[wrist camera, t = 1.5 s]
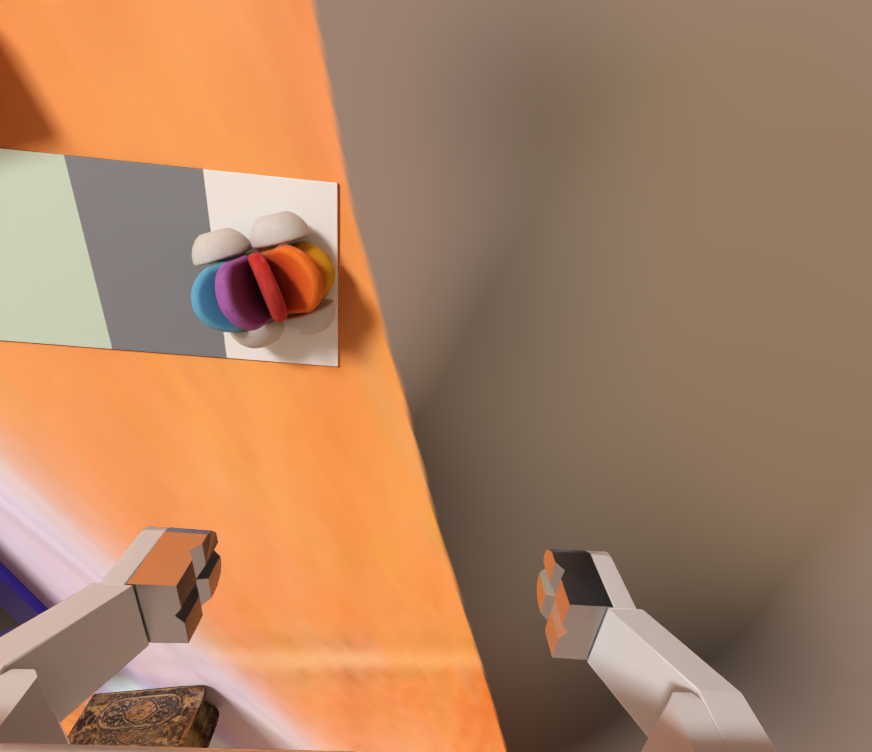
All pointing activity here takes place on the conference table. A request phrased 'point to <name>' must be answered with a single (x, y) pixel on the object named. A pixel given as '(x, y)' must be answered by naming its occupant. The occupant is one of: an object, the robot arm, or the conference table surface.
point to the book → (147, 719)
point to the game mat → (139, 252)
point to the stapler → (16, 602)
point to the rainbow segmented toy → (263, 281)
